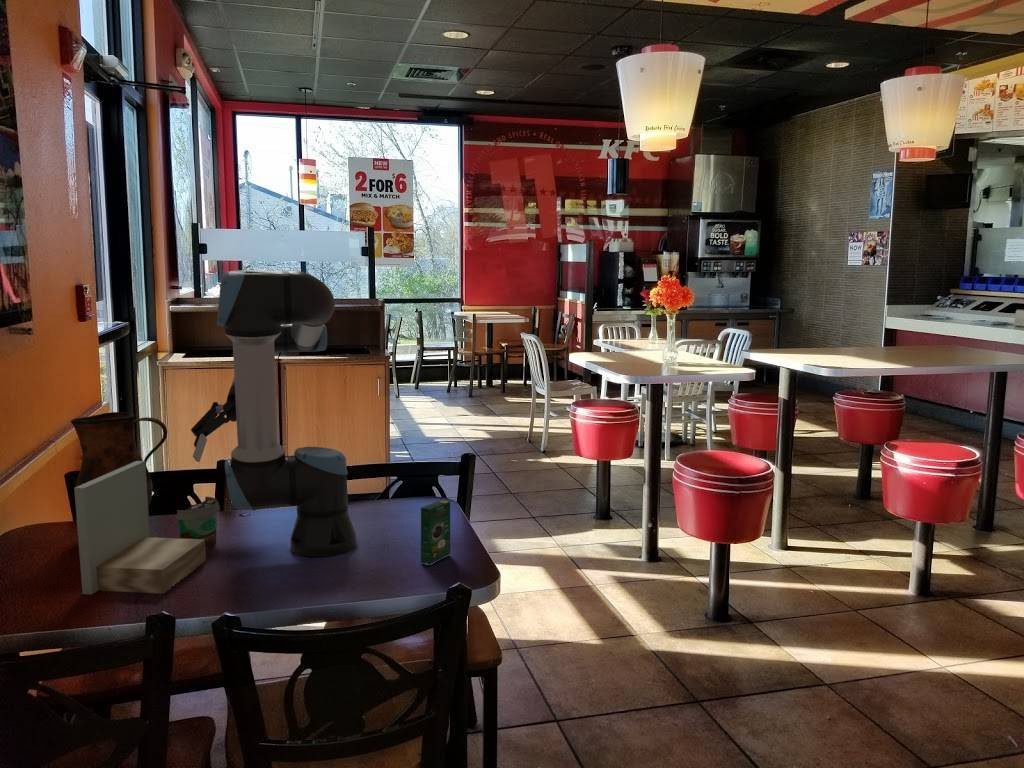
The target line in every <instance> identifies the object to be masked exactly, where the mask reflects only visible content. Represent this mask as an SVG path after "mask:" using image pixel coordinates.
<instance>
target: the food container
mask: <svg viewBox="0 0 1024 768" xmlns="http://www.w3.org/2000/svg"><path fill="white" fill-rule="evenodd" d="M204 497H205V498H204V499H205V500H203V501H202V502H199V503H195V504H192V505H191V506H189V507H188V508H187V509H185V510H184V509H183V510H182V509H177V513H176V520H177V521H178V528H179V536H180V537H179V538H181V539H205V549H208V548H211V547H212V545H213V546H214V545H216V543H217V521H218V519H217V518H218V512H219V511H220V510H221V508H220V504H219V501H218V500H217V499H216V497H212V496H206V495H205V496H204ZM210 546H211V547H210ZM207 547H208V548H207Z"/></svg>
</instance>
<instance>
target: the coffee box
mask: <svg viewBox="0 0 1024 768" xmlns="http://www.w3.org/2000/svg"><path fill="white" fill-rule="evenodd" d="M448 554H450V555H451V501H449V500H444V499H440V500H438V501H435V502H433V503H430V504H427V505H425V506H422V507H420V563H421V562H422V563H428V564H431V563H433V562H435V561H437V560H439V559H441V558H442V557H444V556H446V555H448Z"/></svg>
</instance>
